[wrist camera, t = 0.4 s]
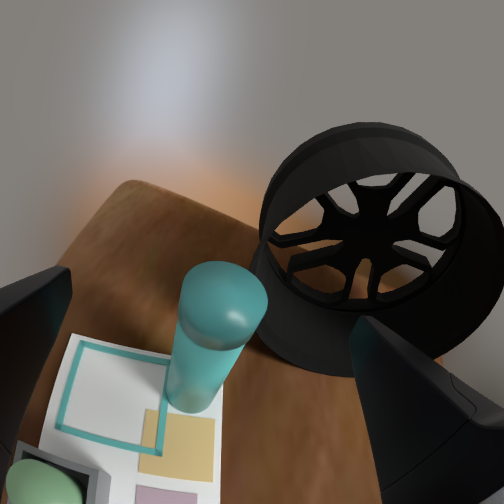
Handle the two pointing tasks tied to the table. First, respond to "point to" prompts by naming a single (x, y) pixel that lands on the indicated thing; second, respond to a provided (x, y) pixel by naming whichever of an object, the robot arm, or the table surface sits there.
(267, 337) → the car wheel rim
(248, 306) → the teal round-topped cylinder
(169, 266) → the table surface
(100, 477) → the button housing
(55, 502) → the button
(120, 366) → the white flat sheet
